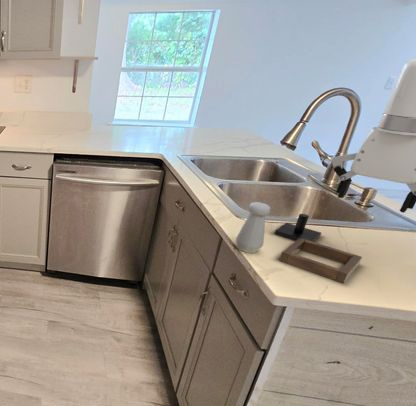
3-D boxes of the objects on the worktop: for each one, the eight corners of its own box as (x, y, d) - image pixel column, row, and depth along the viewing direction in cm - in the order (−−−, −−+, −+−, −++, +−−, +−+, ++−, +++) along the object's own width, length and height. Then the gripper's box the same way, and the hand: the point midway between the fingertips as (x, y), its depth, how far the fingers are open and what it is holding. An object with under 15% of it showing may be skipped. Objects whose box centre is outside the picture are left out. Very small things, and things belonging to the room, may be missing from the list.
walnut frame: (358, 265, 88) (362, 256, 87) (343, 283, 81) (347, 274, 80) (296, 245, 97) (299, 237, 96) (278, 260, 91) (282, 252, 90)
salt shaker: (251, 243, 98) (264, 199, 93) (266, 254, 93) (281, 208, 88) (229, 243, 99) (241, 199, 94) (242, 255, 93) (256, 209, 88)
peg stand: (320, 236, 101) (328, 216, 98) (310, 245, 97) (318, 224, 94) (285, 226, 107) (291, 206, 105) (274, 234, 103) (280, 214, 100)
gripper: (479, 128, 67) (434, 212, 74) (352, 116, 81) (325, 188, 87) (474, 135, 64) (427, 222, 71) (342, 120, 77) (314, 195, 84)
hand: (370, 203), depth 79 cm, fingers open, 9 cm apart
